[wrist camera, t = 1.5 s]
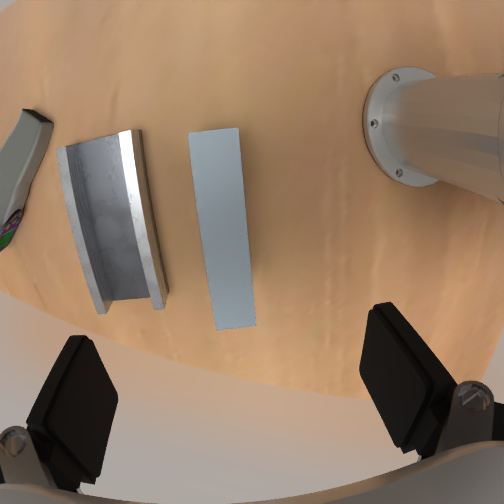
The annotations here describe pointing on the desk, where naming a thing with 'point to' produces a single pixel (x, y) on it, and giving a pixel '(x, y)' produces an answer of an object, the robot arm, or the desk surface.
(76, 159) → the track
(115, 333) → the desk surface
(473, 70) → the desk surface
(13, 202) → the infrared thermometer
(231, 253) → the grey slab
